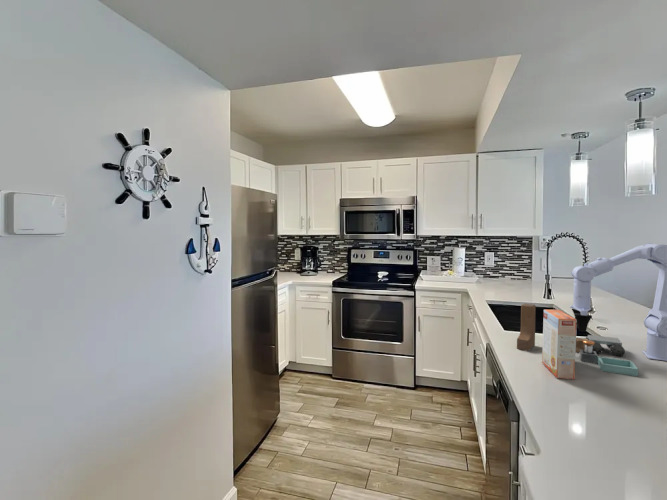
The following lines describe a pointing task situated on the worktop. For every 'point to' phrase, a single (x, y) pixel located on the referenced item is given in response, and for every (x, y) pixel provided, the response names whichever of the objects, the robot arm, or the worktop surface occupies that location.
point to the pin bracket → (588, 356)
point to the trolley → (611, 343)
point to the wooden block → (527, 327)
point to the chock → (580, 344)
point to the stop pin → (588, 346)
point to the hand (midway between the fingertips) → (580, 328)
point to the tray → (617, 366)
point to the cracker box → (559, 343)
